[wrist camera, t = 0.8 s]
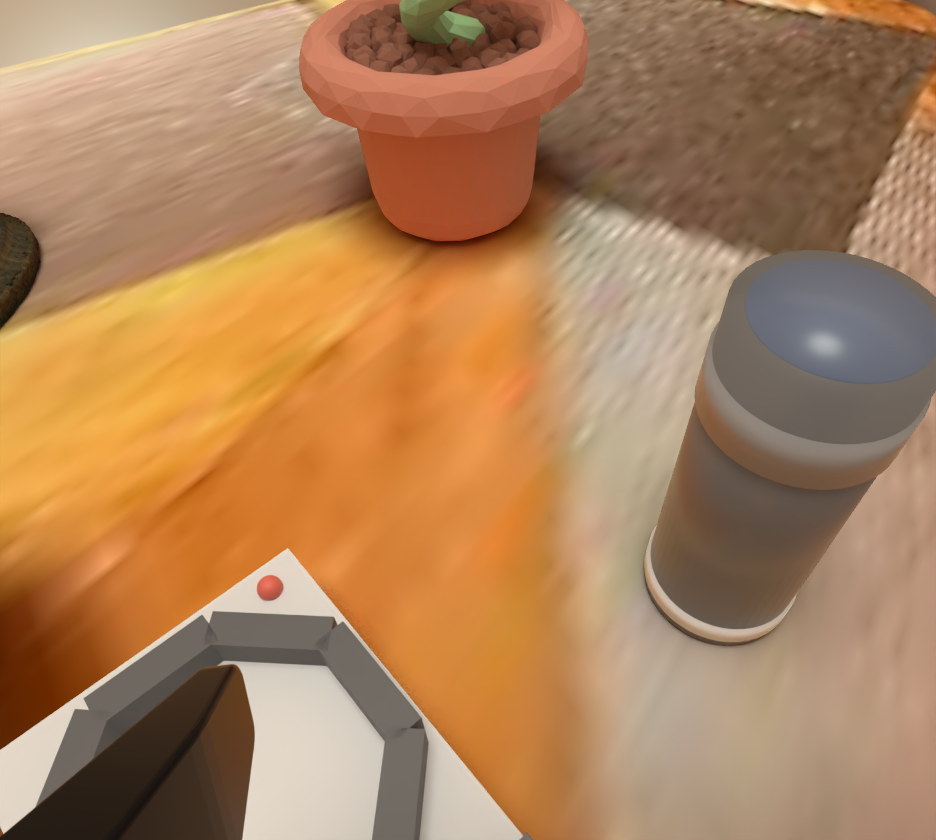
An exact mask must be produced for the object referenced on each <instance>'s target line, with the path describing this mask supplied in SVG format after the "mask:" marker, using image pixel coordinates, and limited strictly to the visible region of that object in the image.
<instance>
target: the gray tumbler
mask: <svg viewBox="0 0 936 840" xmlns="http://www.w3.org/2000/svg"><path fill="white" fill-rule="evenodd" d="M935 391H936V297H935V296H934V295H932V294H931V293H930V292H929V291H928V290H927V289H926V288H924V287H923V286H922V285H920V284H919V283H918V282H916V281H915V280H913V279H911V278H910V277H908V276H907V275H905V274H903V273H901V272H899V271H897V270H895V269H893V268H891V267H889V266H886V265H884V264H882V263H879V262H876V261H873V260H870V259H867V258H863V257H860V256H856V255H851V254H846V253H841V252H833V251H823V250H800V251H791V252H785V253H780V254H776V255H772V256H769V257H766V258H764V259H762V260H759V261H757V262H755V263H753V264H752V265H750V266H749V267H747V268H746V269H745V270H744V271H742V272H741V273H740V274H739V275H738V276H737V278H736V279H735V280H734V282H733V283H732V285H731V287H730V289H729V293H728V296H727V299H726V302H725V306H724V309H723V312H722V315H721V319H720V321H719V323H718V324H717V325H716V327H715V328H714V330H713V332H712V334H711V337H710V340H709V344H708V347H707V350H706V353H705V357H704V360H703V363H702V367H701V370H700V373H699V377H698V380H697V384H696V387H695V403H694V406H693V410H692V413H691V416H690V419H689V423H688V426H687V429H686V432H685V436H684V439H683V442H682V445H681V449H680V452H679V455H678V458H677V462H676V465H675V468H674V471H673V475H672V478H671V481H670V484H669V488H668V491H667V494H666V497H665V501H664V504H663V507H662V510H661V514H660V517H659V520H658V523H657V525H656V526H655V528H654V530H653V532H652V534H651V536H650V540H649V543H648V546H647V550H646V553H645V559H644V571H645V579H646V585H647V588H648V591H649V594H650V596H651V598H652V601H653V602H654V604H655V606H656V607H657V609H658V610H659V611H660V612H661V614H662V615H663V616H664V617H665V618H666V619H667V620H668V621H669V622H670V623H671V624H672V625H674V626H675V627H676V628H677V629H679V630H680V631H682V632H684V633H685V634H687V635H689V636H691V637H693V638H695V639H698V640H701V641H703V642H707V643H711V644H717V645H739V644H744V643H748V642H751V641H754V640H756V639H758V638H760V637H761V636H763V635H765V634H767V633H768V632H770V631H771V630H773V629H774V628H775V627H776V626H777V625H778V624H779V623H780V622H781V621H782V619H783V618H784V617H785V615H786V614H787V613H788V611H789V610H790V608H791V607H792V605H793V603H794V601H795V599H796V596H797V593H798V591H799V589H800V588H801V586H802V585H803V583H804V582H805V580H806V579H807V577H808V576H809V575H810V573H811V572H812V570H813V569H814V567H815V566H816V564H817V563H818V561H819V560H820V559H821V557H822V556H823V554H824V553H825V551H826V550H827V548H828V547H829V545H830V544H831V543H832V541H833V540H834V538H835V537H836V535H837V534H838V532H839V531H840V529H841V528H842V527H843V525H844V524H845V522H846V521H847V519H848V518H849V516H850V515H851V513H852V512H853V511H854V509H855V508H856V506H857V505H858V503H859V502H860V500H861V499H862V497H863V496H864V495H865V493H866V492H867V490H868V489H869V487H870V486H871V484H872V483H873V481H874V480H875V479H876V477H877V476H878V475H879V474H881V473H882V472H883V471H884V470H885V469H887V468H888V467H889V466H890V464H891V463H892V462H893V460H894V459H895V458H896V456H897V455H898V453H899V452H900V451H901V449H902V448H903V446H904V445H905V443H906V442H907V441H908V439H909V438H910V436H911V435H912V433H913V432H914V431H915V429H916V428H917V426H918V425H919V423H920V422H921V420H922V419H923V418H924V416H925V414H926V412H927V410H928V408H929V406H930V401H931V397H932V396H933V394H934V393H935Z"/></svg>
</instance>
